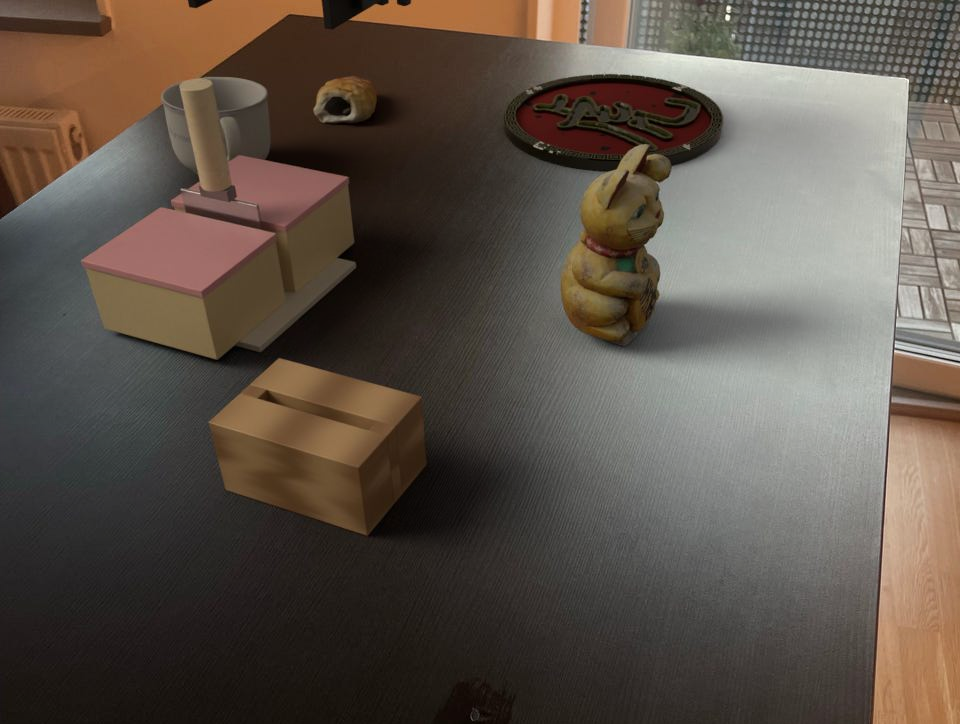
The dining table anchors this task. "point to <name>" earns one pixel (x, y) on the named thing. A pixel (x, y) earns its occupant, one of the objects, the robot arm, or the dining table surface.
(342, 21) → the robot arm
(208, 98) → the knife
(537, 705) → the dining table surface
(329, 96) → the pastry
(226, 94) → the teacup
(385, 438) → the knife block
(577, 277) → the decorative figurine
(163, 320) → the cake
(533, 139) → the decorative plate
